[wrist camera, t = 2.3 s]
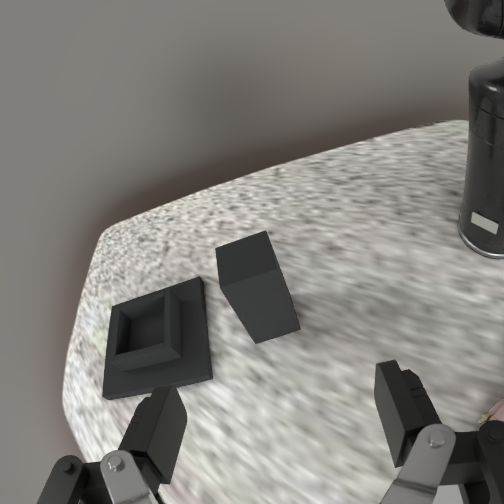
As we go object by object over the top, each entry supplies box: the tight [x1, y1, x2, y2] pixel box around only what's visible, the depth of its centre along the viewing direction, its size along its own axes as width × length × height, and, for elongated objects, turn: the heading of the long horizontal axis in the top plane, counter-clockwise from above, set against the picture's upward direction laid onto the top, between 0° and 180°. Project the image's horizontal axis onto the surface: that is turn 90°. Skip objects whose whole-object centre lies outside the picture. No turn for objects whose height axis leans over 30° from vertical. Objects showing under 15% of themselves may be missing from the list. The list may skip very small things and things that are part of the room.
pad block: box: [215, 231, 301, 344], centre depth 31 cm, size 5×5×10 cm
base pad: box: [102, 277, 213, 400], centre depth 36 cm, size 14×14×4 cm
